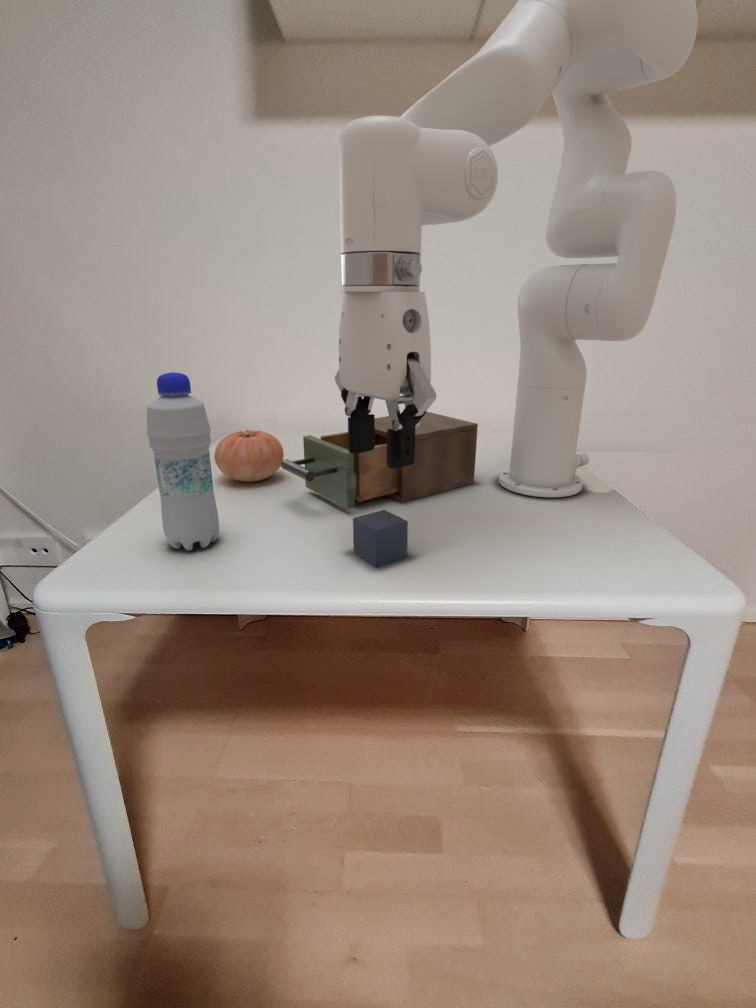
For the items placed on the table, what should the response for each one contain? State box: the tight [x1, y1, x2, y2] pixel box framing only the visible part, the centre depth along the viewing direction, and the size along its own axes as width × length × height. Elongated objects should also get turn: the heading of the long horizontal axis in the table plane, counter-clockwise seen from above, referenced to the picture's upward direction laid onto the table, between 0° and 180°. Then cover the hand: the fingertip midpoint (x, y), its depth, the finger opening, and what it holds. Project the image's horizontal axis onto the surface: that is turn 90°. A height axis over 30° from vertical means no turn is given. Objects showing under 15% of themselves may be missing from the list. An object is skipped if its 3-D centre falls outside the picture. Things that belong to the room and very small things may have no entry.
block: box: [352, 509, 409, 568], centre depth 61 cm, size 4×4×4 cm
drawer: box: [280, 431, 399, 510], centre depth 78 cm, size 18×11×8 cm, turn 127°
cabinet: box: [374, 411, 479, 503], centre depth 85 cm, size 15×13×10 cm
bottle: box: [146, 371, 220, 551], centre depth 62 cm, size 7×7×20 cm
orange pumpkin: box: [213, 429, 285, 483], centre depth 87 cm, size 11×11×8 cm
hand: (380, 457), depth 58 cm, fingers open, 6 cm apart
